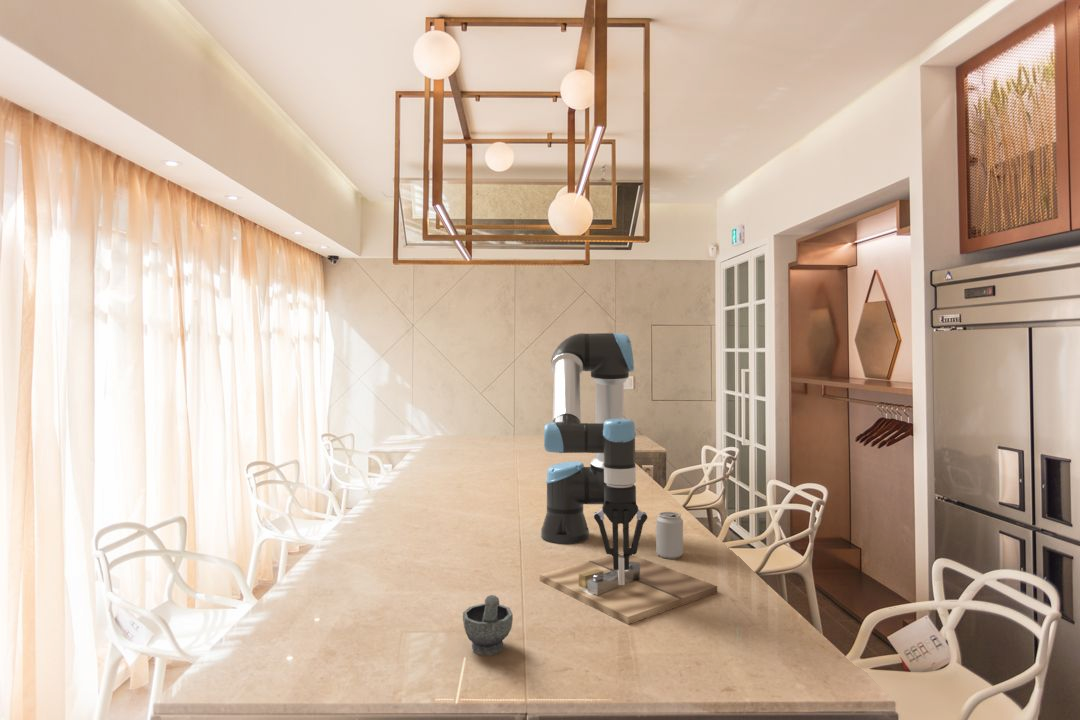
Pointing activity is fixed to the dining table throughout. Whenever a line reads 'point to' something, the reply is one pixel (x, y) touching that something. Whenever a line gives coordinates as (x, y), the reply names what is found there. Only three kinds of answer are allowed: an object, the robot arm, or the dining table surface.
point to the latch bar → (612, 579)
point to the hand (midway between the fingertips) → (621, 582)
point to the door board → (630, 588)
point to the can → (669, 535)
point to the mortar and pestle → (487, 626)
